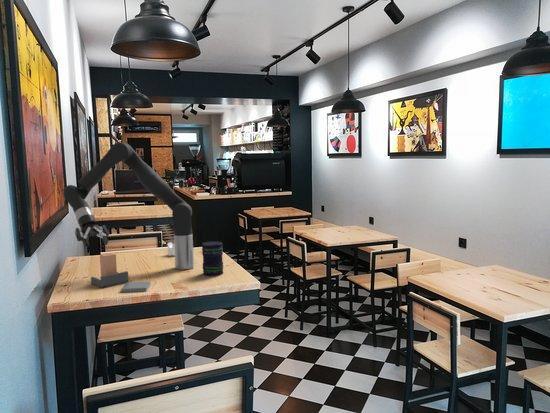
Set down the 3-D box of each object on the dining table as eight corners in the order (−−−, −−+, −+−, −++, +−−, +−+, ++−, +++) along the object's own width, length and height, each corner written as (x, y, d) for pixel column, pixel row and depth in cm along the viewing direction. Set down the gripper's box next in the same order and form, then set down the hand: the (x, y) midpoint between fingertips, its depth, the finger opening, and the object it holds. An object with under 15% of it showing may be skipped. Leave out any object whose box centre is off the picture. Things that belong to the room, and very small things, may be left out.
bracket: (173, 257, 237) (173, 244, 236) (167, 255, 242) (167, 242, 241) (193, 254, 245) (192, 241, 245) (187, 252, 251) (187, 240, 250)
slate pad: (150, 284, 180) (150, 281, 180) (146, 291, 170) (146, 287, 170) (127, 285, 179) (126, 282, 179) (121, 292, 169) (121, 288, 169)
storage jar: (198, 274, 196) (197, 243, 195) (213, 270, 204) (212, 240, 203) (213, 277, 190) (212, 245, 189) (227, 273, 198) (226, 242, 197)
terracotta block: (101, 280, 183) (99, 254, 182) (112, 278, 187) (110, 252, 186) (106, 282, 180) (104, 256, 179) (117, 280, 184) (115, 254, 183)
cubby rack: (91, 283, 183) (90, 272, 182) (117, 278, 191) (116, 267, 191) (102, 288, 175) (101, 277, 175) (128, 282, 184) (127, 271, 183)
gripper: (72, 215, 189) (83, 242, 182) (102, 212, 199) (114, 238, 192) (68, 225, 193) (79, 252, 186) (98, 222, 203) (110, 247, 196)
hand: (97, 245), depth 189 cm, fingers open, 8 cm apart
